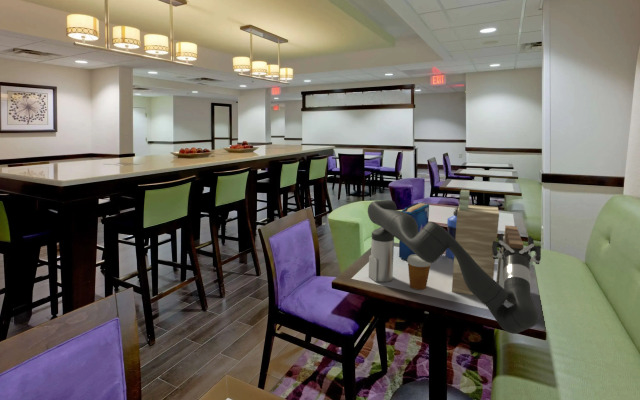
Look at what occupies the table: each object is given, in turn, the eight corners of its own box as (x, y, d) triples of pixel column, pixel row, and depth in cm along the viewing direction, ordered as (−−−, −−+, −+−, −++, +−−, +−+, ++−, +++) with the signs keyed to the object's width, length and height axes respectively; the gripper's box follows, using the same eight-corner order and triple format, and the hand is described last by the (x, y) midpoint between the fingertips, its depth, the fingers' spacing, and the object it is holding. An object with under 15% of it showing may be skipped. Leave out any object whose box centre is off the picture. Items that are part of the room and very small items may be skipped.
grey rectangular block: (518, 303, 133) (524, 249, 129) (497, 300, 136) (502, 246, 132) (515, 287, 147) (520, 237, 143) (495, 284, 149) (500, 235, 146)
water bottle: (441, 256, 183) (444, 207, 179) (451, 252, 190) (454, 204, 185) (459, 261, 177) (462, 210, 172) (468, 256, 183) (472, 207, 178)
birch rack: (491, 298, 138) (500, 195, 130) (451, 291, 143) (458, 192, 136) (490, 284, 150) (499, 189, 143) (454, 278, 156) (460, 187, 148)
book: (410, 262, 175) (412, 210, 170) (396, 259, 179) (398, 208, 175) (427, 250, 192) (430, 203, 187) (414, 248, 196) (416, 202, 192)
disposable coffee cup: (415, 293, 142) (417, 263, 139) (401, 284, 150) (402, 255, 148) (435, 289, 145) (437, 260, 143) (419, 280, 154) (421, 252, 152)
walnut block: (522, 256, 122) (523, 244, 121) (508, 255, 123) (509, 243, 123) (515, 236, 145) (516, 226, 144) (504, 235, 147) (505, 225, 146)
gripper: (490, 277, 121) (491, 241, 132) (540, 284, 116) (537, 246, 127) (492, 261, 117) (493, 226, 128) (544, 268, 111) (541, 230, 122)
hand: (515, 236), depth 127 cm, fingers open, 8 cm apart
